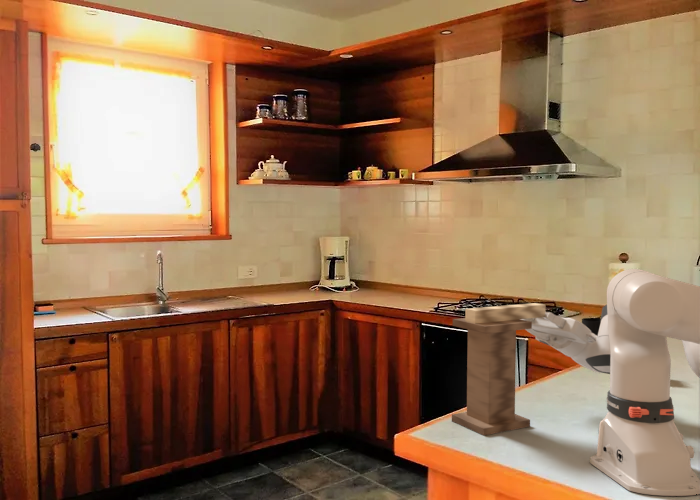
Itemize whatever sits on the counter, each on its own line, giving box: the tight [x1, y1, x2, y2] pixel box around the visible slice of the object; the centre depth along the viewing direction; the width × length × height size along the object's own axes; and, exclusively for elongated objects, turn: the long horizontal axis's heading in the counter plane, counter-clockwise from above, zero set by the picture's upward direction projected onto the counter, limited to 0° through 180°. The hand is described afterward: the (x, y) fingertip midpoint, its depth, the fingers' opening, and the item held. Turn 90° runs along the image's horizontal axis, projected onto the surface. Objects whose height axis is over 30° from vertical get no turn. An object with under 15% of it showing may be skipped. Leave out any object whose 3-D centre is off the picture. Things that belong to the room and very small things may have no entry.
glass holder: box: [581, 317, 601, 336], centre depth 220 cm, size 9×14×15 cm, turn 21°
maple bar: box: [464, 302, 547, 324], centre depth 160 cm, size 22×4×3 cm, turn 118°
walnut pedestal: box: [451, 317, 532, 436], centre depth 159 cm, size 14×12×25 cm
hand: (532, 312), depth 164 cm, fingers open, 8 cm apart
